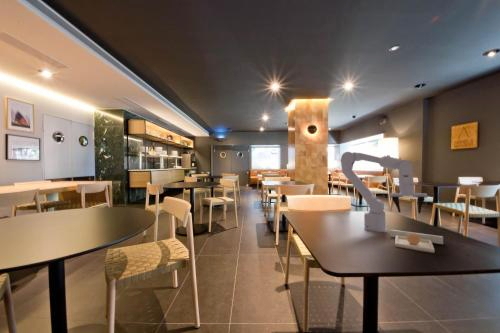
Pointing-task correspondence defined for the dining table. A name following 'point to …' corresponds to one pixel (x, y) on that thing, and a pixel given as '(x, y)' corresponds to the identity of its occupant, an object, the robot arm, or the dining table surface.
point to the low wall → (422, 236)
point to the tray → (421, 246)
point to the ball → (413, 238)
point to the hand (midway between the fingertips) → (409, 212)
